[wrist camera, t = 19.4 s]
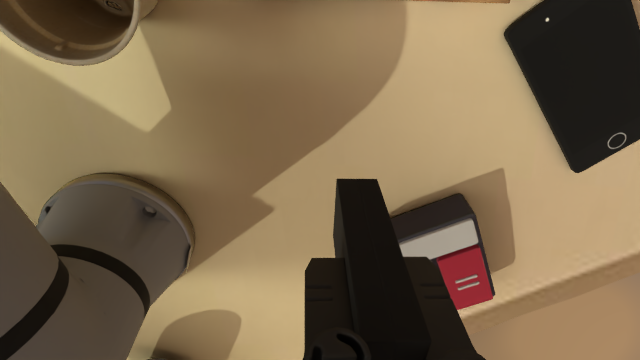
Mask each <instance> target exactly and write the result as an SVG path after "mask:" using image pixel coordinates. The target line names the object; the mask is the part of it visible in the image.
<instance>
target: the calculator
mask: <svg viewBox="0 0 640 360" xmlns="http://www.w3.org/2000/svg"><path fill="white" fill-rule="evenodd" d="M391 222H392V225H393V228H394V231H395V234H396V237H397V240H398V243H399V246H400V249H401V252H402V255H403V257H427V258H428V259H429V260H430V261H431V262H432V263H433V264H434V265H435V266H436V267H437V268H438V269H439V271H440V273H441V275H442V278H443V280H444V282H445V286H446V287H447V289H448V291H449V293H450V298H451V299H452V300H453V302H454V305H455V307H456V309H457V310H459V309H462V308H466V307H469V306H472V305H475V304H479V303H482V302H485V301H488V300H491V299H493V296H495V291H494V287H493V283H492V279H491V275H490V271H489V267H488V263H487V259H486V255H485V251H484V247H483V243H482V239H481V235H480V231H479V227H478V223H477V219H476V215H475V213H474V212H473V210H472V209H471V207H470V206H469V204H468V203H467V201H466V200H465V198H464V197H463V195H462V194H456V195H454V196H451V197H448V198H445V199H443V200H440V201H437V202H435V203H432V204H429V205H426V206H424V207H421V208H418V209H416V210H413V211H410V212H407V213H405V214H402V215H399V216H397V217H394V218H391Z"/></svg>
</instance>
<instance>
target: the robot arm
mask: <svg viewBox="0 0 640 360" xmlns="http://www.w3.org/2000/svg"><path fill="white" fill-rule="evenodd" d="M333 238H334V248H335V258H312V259H311V261H310V263H309V264H308V266H307V268H306V270H305V352H304V358H303V360H486V359H485V358H483V357H482V356H481V355H479V354H478V353H477V352H476V350H475V349H474V347H473V345H472V343H471V341H470V338H469V336H468V334H467V332H466V329H465V327H464V325H463V323H462V320H461V318H460V316H459V314H458V311H457V309H456V307H455V305H454V302H453V300H452V299H451V298H450V293H449V291H448V289H447V287H446V286H445V282H444V280H443V278H442V275H441V273H440V271H439V269H438V268H437V267H436V266H435V265H434V264H433V263H432V262H431V261H430V260H429V259H428V258H427V257H403V255H402V252H401V249H400V246H399V243H398V240H397V237H396V234H395V231H394V228H393V225H392V222H391V219H390V216H389V213H388V210H387V207H386V204H385V202H384V199H383V196H382V193H381V190H380V187H379V184H378V181H377V179H337V183H336V199H335V215H334V231H333ZM194 242H195V238H194V231H193V227H192V225H191V222H190V220H189V218H188V217H187V215H186V214H185V212H184V211H183V209H182V208H181V207H180V206H179V205H178V204H177V203H176V202H175V201H174V200H173V199H172V198H171V197H169V196H168V195H167V194H165V193H164V192H163V191H161V190H159V189H158V188H156V187H154V186H152V185H150V184H148V183H146V182H144V181H141V180H138V179H135V178H131V177H128V176H123V175H116V174H93V175H87V176H83V177H80V178H77V179H75V180H72V181H70V182H69V183H67V184H66V185H64V186H63V187H62V188H61V189H60V190H59V191H57V192H56V193H55V194H54V195H53V196H52V197H51V198H50V199H49V200H48V201H47V202H46V204H45V205H44V207H43V209H42V211H41V214H40V217H39V220H38V224H37V225H36V227H35V226H34V224H33V223H32V222H31V221H30V219H29V218H28V217H27V215H26V214H25V213H24V212H23V210H22V209H21V208H20V206H19V205H18V204H17V203H16V201H15V200H14V199H13V198H12V196H11V195H10V194H9V192H8V191H7V190H6V189H5V187H4V186H3V185H2V183H1V182H0V360H126V359H127V357H128V354H129V352H130V350H131V348H132V345H133V343H134V341H135V339H136V336H137V334H138V332H139V330H140V327H141V325H142V323H143V320H144V318H145V316H146V314H147V312H148V310H149V308H150V306H151V305H152V304H153V303H154V302H155V301H156V300H157V299H158V297H159V296H160V295H161V294H162V293H163V292H164V291H165V290H166V289H167V288H168V287H169V286H170V284H171V283H172V282H173V281H174V280H176V279H177V278H178V277H179V276H180V275H181V274H182V273H183V272H184V270H185V268H186V267H187V269H186V272H187V270H188V267H189V262H190V257H191V255H192V252H193V249H194Z"/></svg>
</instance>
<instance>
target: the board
mask: <svg viewBox="0 0 640 360" xmlns="http://www.w3.org/2000/svg"><path fill="white" fill-rule="evenodd" d="M413 1H446V2H480V3H510V0H413Z"/></svg>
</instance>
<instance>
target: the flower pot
mask: <svg viewBox="0 0 640 360" xmlns="http://www.w3.org/2000/svg"><path fill="white" fill-rule="evenodd" d="M106 1H109V2H111V3H114V2H115V4H116V5H118V6H120V8H121V10H119V9H116V8H113V7H111V6H109V5H108V4H107V2H106ZM157 2H158V0H0V31H1V32H3V33H4V34H5V35H6V36H7V37H8V38H10V39H11V40H12V41H14V42H15V43H16V44H18V45H19V46H21V47H23V48H24V49H26V50H27V51H30V52H32V53H33V54H35V55H37V56H40V57H42V58H44V59H46V60H50V61H54V62H57V63H61V64H67V65H73V66H84V65H93V64H98V63H100V62H104V61H106V60H108V59H110V58H112V57H114V56H115V55H117V54H118V53H119V52H120V51H121V50H123V49H124V47H125V46H126V45H127V44H128V43H129V41H130V40H131V38H132V37H133V35H134V33H135V31H136V29H137V26H138V22H139V21H140V20H141V19H142V18H143V17H145V16H146V15H147V14H149V13H150V12H151V11H152V10H153V9H154V7H155V6H156V4H157Z"/></svg>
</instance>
